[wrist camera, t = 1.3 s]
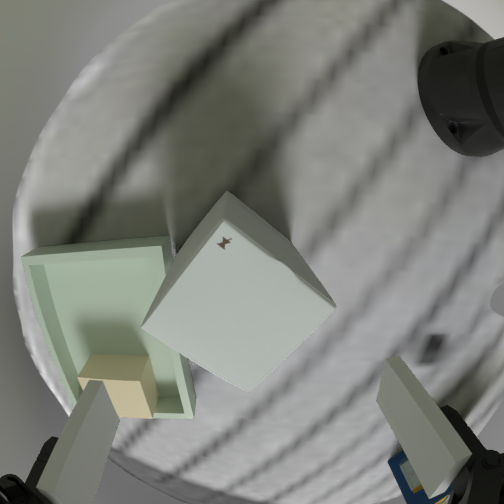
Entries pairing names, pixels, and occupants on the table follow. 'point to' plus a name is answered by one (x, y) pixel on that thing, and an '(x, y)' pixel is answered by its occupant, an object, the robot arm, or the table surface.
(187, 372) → the green tray
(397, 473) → the protein box
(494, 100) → the robot arm
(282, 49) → the table surface
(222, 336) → the supplement box
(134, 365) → the tan rectangular block
